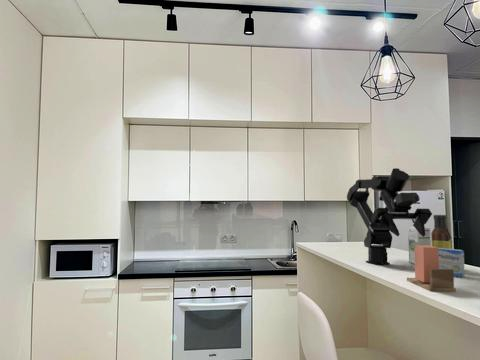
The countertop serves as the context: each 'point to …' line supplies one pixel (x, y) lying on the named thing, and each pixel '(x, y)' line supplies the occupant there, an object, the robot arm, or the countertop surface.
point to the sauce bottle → (441, 233)
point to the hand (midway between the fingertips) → (411, 235)
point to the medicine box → (452, 261)
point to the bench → (437, 280)
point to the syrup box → (417, 241)
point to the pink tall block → (425, 261)
